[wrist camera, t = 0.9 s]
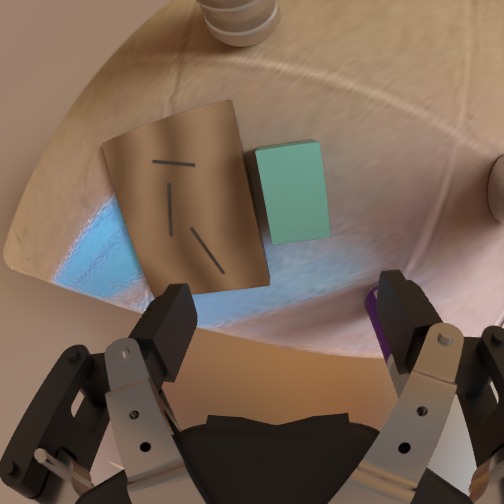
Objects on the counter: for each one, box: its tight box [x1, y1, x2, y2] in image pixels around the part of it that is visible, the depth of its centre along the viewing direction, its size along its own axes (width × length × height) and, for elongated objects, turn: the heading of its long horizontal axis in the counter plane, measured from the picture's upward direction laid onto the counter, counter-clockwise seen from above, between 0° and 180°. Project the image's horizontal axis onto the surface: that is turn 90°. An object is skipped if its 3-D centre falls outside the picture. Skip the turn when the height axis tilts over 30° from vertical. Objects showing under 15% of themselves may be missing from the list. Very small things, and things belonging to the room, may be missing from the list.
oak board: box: [102, 100, 270, 298], centre depth 27 cm, size 14×19×2 cm
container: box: [364, 282, 410, 398], centre depth 24 cm, size 5×5×15 cm
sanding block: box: [255, 139, 331, 245], centre depth 24 cm, size 5×8×5 cm, turn 11°
